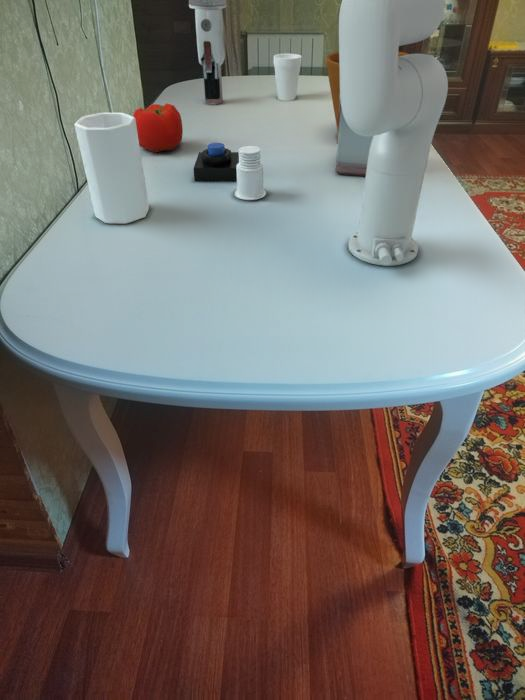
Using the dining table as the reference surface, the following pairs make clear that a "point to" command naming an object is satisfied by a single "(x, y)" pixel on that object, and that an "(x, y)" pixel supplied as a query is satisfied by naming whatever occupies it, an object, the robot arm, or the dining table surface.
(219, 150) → the button
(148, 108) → the tomato
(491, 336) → the dining table surface
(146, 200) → the cup
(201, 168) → the base
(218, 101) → the beverage can
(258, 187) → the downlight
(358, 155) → the bottle
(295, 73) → the foam cup
